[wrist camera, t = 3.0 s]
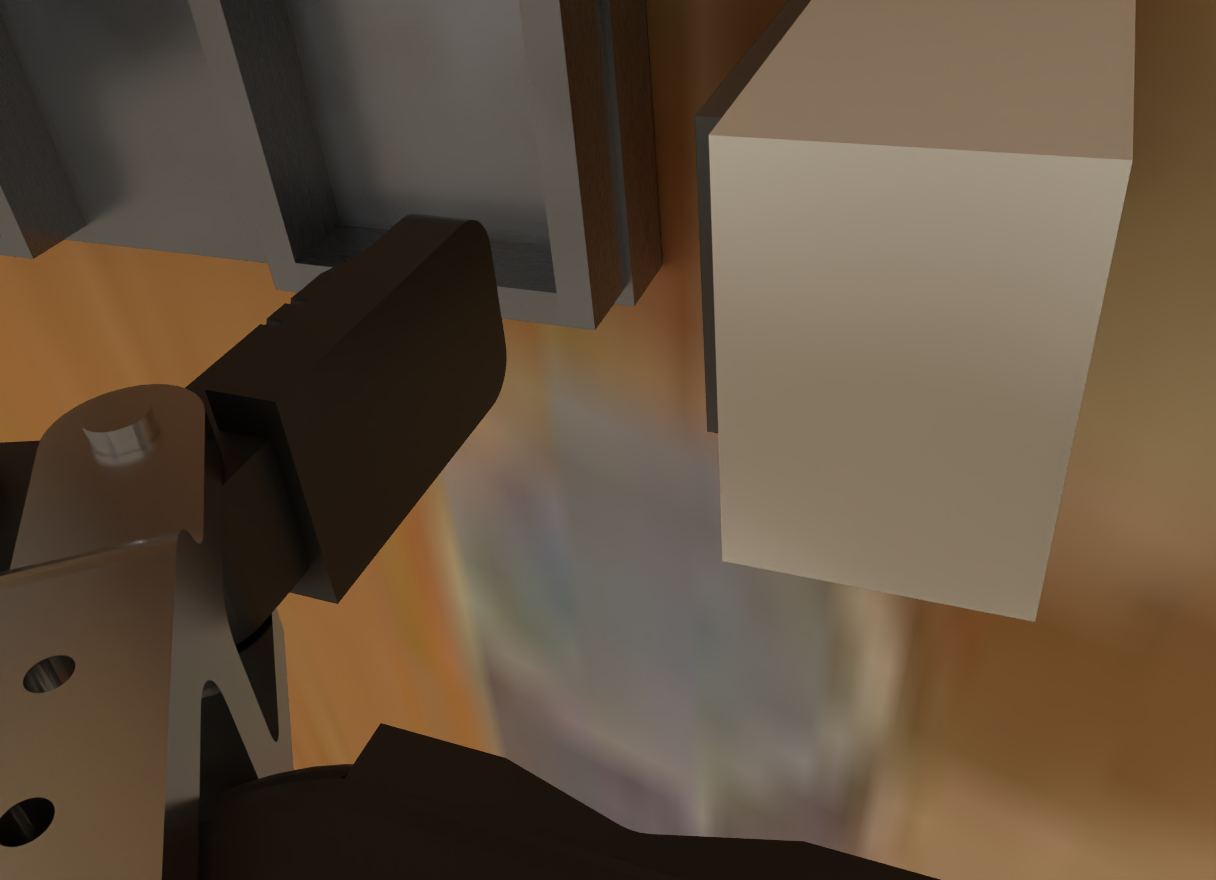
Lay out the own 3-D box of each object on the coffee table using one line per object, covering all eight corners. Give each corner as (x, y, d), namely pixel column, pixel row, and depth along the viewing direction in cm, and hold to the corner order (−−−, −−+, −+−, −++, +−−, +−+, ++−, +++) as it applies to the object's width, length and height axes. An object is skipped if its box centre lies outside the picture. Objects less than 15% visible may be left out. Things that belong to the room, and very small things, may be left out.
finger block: (841, 187, 18) (666, 549, 11) (855, -115, 15) (635, 129, 9) (1077, 205, 17) (1034, 622, 10) (1137, -121, 14) (1132, 160, 7)
